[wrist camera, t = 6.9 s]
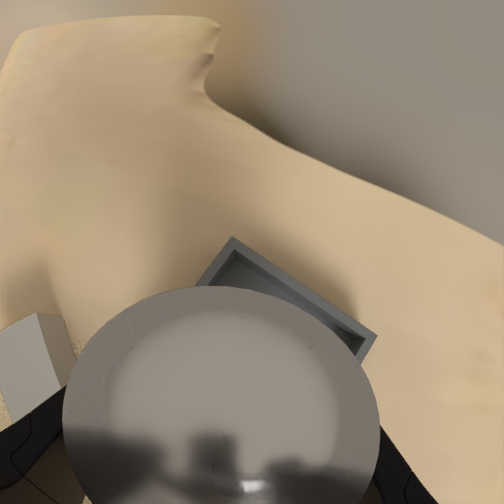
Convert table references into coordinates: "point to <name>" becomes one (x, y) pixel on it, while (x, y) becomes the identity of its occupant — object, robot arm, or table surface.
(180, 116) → the table surface
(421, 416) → the table surface
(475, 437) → the table surface
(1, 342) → the grey rectangular block
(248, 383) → the steel can
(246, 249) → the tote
